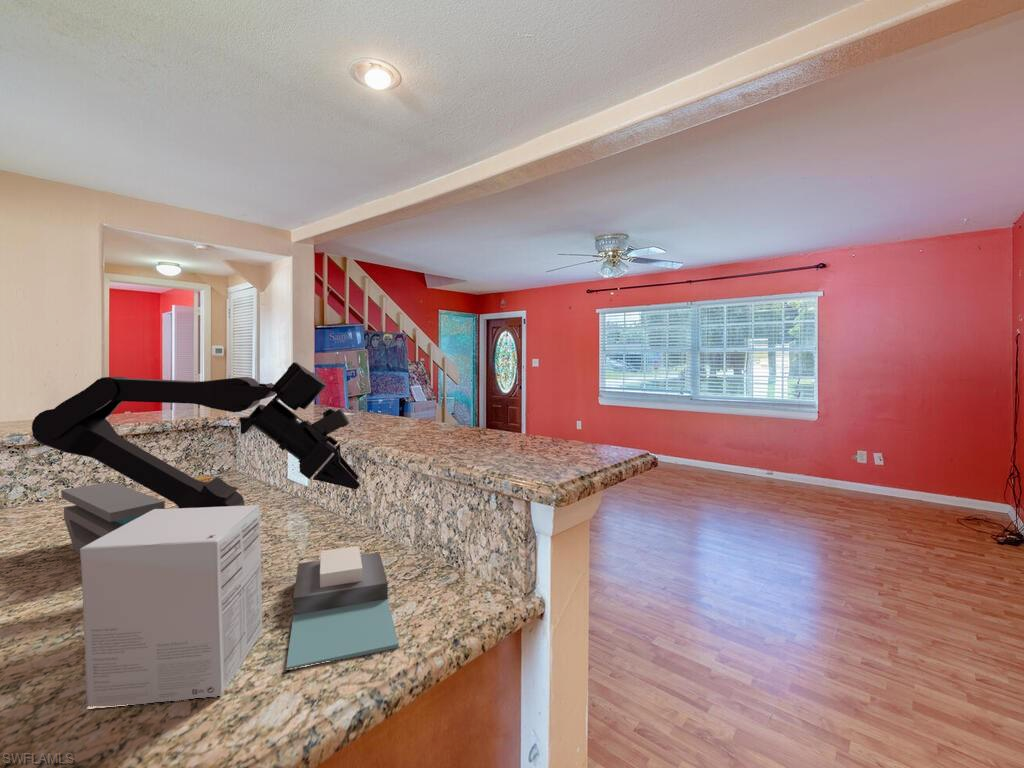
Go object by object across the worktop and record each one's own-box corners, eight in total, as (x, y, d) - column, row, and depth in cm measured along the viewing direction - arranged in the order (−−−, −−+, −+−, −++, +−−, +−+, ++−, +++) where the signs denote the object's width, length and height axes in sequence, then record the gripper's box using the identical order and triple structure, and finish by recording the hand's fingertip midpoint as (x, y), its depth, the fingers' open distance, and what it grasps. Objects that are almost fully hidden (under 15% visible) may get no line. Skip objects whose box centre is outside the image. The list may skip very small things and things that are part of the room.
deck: (293, 618, 66) (293, 598, 66) (298, 581, 77) (298, 563, 77) (387, 602, 71) (387, 582, 71) (379, 568, 82) (379, 552, 82)
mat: (286, 671, 55) (286, 667, 55) (293, 618, 66) (293, 615, 66) (398, 647, 60) (398, 643, 60) (387, 602, 71) (387, 598, 71)
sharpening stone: (166, 560, 85) (164, 501, 85) (112, 576, 79) (110, 513, 78) (113, 532, 99) (111, 481, 98) (63, 544, 92) (61, 490, 91)
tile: (320, 587, 69) (319, 574, 69) (321, 562, 78) (320, 551, 77) (362, 580, 71) (362, 568, 71) (359, 557, 80) (358, 545, 80)
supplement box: (265, 629, 64) (262, 503, 63) (221, 699, 51) (217, 540, 50) (157, 638, 61) (153, 507, 61) (82, 713, 48) (75, 548, 48)
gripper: (316, 393, 76) (391, 453, 79) (322, 395, 93) (383, 444, 97) (265, 447, 73) (345, 507, 76) (281, 439, 90) (346, 488, 94)
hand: (357, 483), depth 86 cm, fingers open, 9 cm apart
